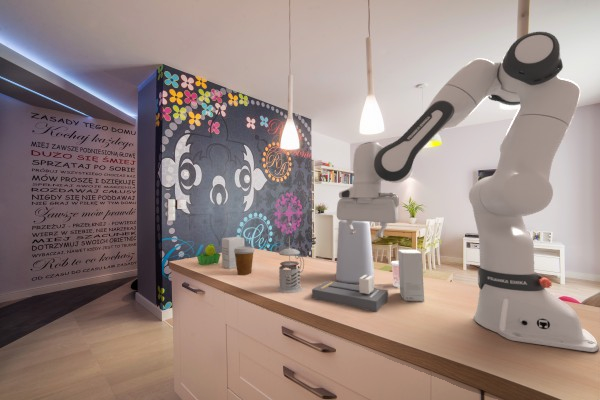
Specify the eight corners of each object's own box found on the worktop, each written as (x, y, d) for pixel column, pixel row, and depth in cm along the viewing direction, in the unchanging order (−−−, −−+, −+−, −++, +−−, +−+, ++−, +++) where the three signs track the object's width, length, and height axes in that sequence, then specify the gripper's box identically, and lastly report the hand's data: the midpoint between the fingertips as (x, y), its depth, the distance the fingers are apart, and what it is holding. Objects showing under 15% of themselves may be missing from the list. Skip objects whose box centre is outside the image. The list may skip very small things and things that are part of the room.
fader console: (387, 299, 87) (387, 289, 88) (376, 311, 77) (376, 300, 78) (328, 288, 100) (328, 279, 100) (312, 298, 90) (312, 288, 90)
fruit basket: (216, 261, 153) (216, 241, 153) (222, 263, 146) (222, 243, 146) (195, 264, 145) (195, 243, 146) (201, 266, 138) (201, 245, 139)
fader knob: (373, 289, 87) (373, 275, 87) (368, 294, 82) (368, 279, 82) (364, 288, 88) (364, 274, 88) (359, 292, 84) (359, 277, 84)
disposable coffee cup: (233, 271, 127) (233, 246, 127) (253, 270, 130) (253, 245, 130) (234, 276, 118) (234, 249, 118) (256, 274, 121) (255, 248, 121)
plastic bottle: (373, 285, 102) (371, 213, 103) (334, 282, 107) (333, 213, 107) (374, 275, 116) (373, 212, 117) (340, 273, 121) (339, 212, 122)
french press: (271, 288, 100) (270, 222, 101) (294, 282, 108) (294, 221, 108) (287, 295, 93) (286, 223, 93) (311, 288, 100) (310, 222, 101)
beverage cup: (411, 288, 99) (410, 250, 99) (394, 288, 99) (393, 250, 99) (404, 283, 105) (404, 247, 105) (389, 283, 105) (388, 248, 105)
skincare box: (424, 302, 84) (423, 253, 85) (402, 301, 86) (401, 252, 86) (418, 293, 93) (417, 249, 93) (398, 292, 94) (397, 248, 94)
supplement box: (237, 263, 144) (237, 236, 144) (245, 266, 137) (245, 237, 138) (221, 266, 138) (221, 237, 139) (228, 269, 131) (228, 239, 132)
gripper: (402, 193, 82) (401, 237, 82) (343, 193, 95) (342, 232, 95) (395, 192, 77) (394, 239, 77) (334, 192, 90) (333, 233, 90)
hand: (365, 235), depth 86 cm, fingers open, 8 cm apart
